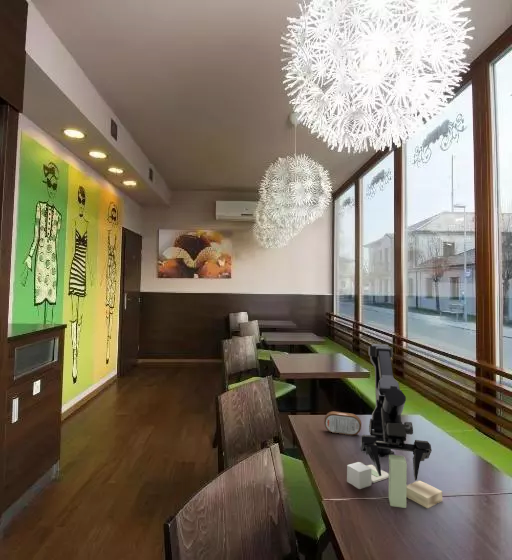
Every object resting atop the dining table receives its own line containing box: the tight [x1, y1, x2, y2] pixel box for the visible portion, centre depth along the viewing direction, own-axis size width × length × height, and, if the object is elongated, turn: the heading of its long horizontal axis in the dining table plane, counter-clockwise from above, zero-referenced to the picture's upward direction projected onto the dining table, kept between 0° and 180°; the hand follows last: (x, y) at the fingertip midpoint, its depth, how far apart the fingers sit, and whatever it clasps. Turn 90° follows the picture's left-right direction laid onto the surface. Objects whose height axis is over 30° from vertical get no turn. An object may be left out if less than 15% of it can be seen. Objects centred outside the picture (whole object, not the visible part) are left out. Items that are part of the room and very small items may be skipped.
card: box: [367, 464, 389, 484], centre depth 115 cm, size 8×8×1 cm
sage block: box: [387, 454, 408, 509], centre depth 99 cm, size 4×4×12 cm
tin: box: [323, 411, 362, 436], centre depth 149 cm, size 15×3×8 cm, turn 74°
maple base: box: [406, 480, 443, 509], centre depth 102 cm, size 7×7×3 cm
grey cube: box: [346, 461, 372, 490], centre depth 109 cm, size 5×5×5 cm
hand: (397, 477), depth 98 cm, fingers open, 9 cm apart
